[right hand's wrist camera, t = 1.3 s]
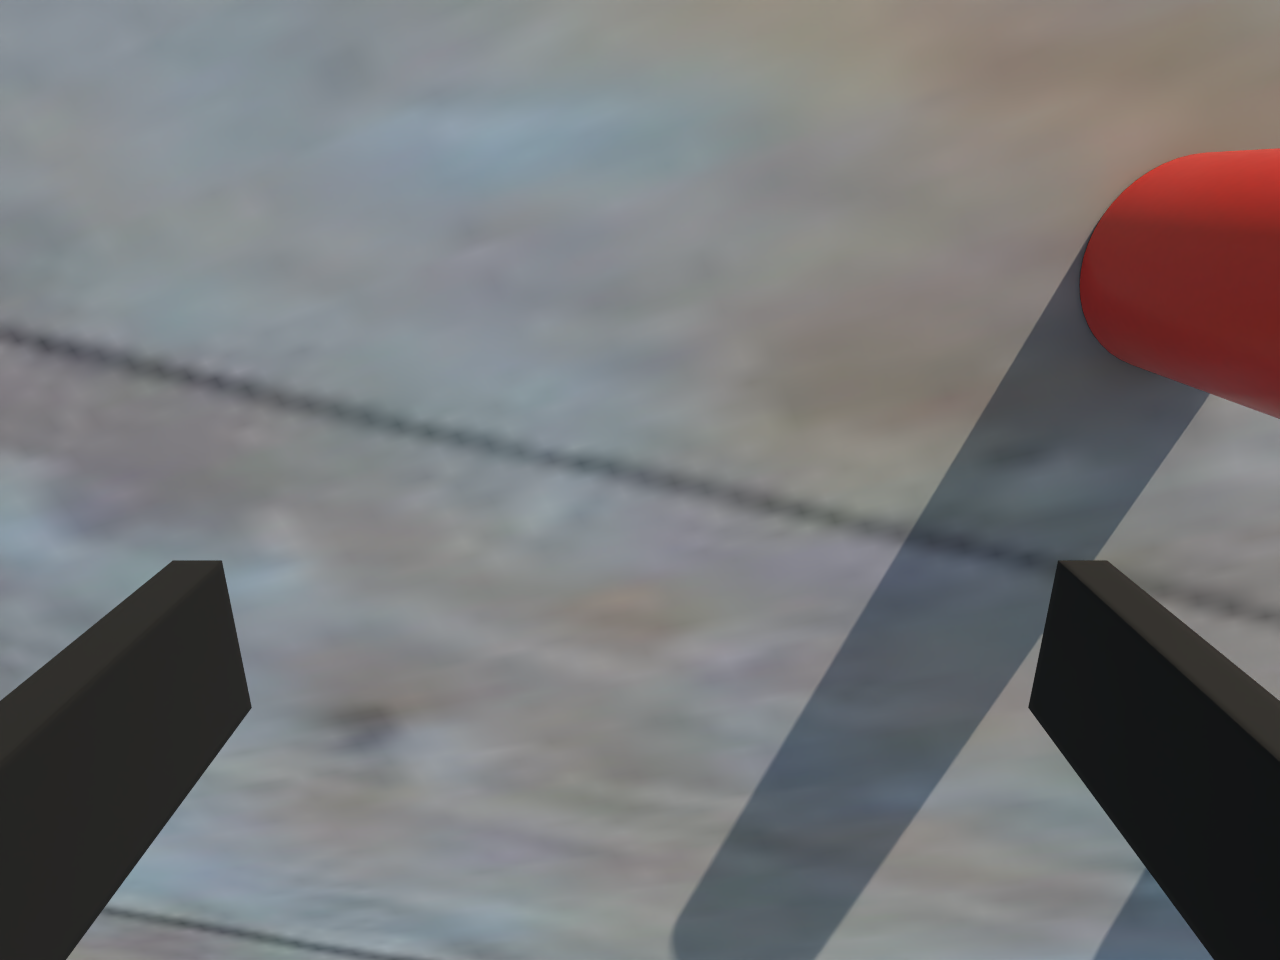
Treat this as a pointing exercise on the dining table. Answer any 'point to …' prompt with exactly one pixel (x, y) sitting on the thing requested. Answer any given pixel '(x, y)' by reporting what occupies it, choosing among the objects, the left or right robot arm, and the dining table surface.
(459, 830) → the dining table surface
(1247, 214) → the tin
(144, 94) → the dining table surface
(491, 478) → the dining table surface
